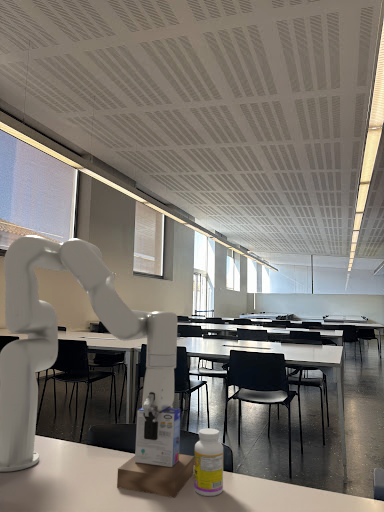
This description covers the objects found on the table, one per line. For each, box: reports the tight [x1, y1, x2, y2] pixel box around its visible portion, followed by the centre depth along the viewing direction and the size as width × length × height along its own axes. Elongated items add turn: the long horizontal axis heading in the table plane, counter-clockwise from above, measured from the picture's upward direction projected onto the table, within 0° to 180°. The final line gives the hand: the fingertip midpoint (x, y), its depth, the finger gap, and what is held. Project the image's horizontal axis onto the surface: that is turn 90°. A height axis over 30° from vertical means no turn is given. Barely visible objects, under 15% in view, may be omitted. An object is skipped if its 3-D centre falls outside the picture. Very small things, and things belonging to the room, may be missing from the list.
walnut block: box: [116, 453, 195, 498], centre depth 93 cm, size 14×14×4 cm
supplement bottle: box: [193, 428, 224, 497], centre depth 89 cm, size 7×7×13 cm
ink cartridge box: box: [134, 407, 181, 467], centre depth 95 cm, size 10×6×14 cm, turn 75°
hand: (158, 433), depth 94 cm, fingers open, 9 cm apart
